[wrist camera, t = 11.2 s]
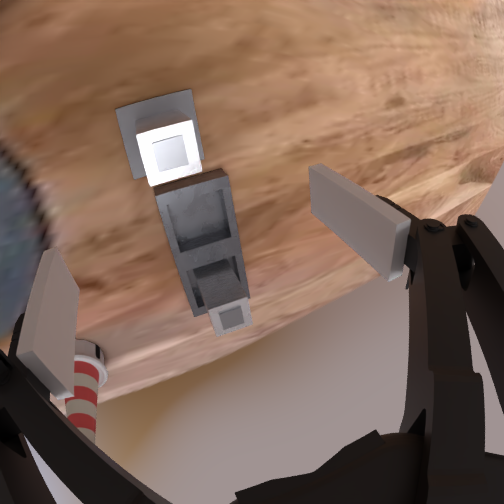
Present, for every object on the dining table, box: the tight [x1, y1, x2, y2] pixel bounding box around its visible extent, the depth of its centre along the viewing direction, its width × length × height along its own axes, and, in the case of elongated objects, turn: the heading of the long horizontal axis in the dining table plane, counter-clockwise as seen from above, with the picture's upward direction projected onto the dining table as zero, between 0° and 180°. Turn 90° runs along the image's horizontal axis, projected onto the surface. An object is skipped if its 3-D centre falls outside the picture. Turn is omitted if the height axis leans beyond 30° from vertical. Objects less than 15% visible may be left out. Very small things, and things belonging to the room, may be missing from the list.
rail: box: [153, 169, 250, 317], centre depth 44 cm, size 20×9×3 cm, turn 8°
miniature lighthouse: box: [65, 339, 108, 444], centre depth 36 cm, size 9×9×30 cm
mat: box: [115, 89, 204, 180], centre depth 35 cm, size 9×9×1 cm
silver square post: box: [193, 258, 253, 337], centre depth 44 cm, size 5×5×10 cm
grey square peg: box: [135, 109, 202, 187], centre depth 31 cm, size 5×5×10 cm
